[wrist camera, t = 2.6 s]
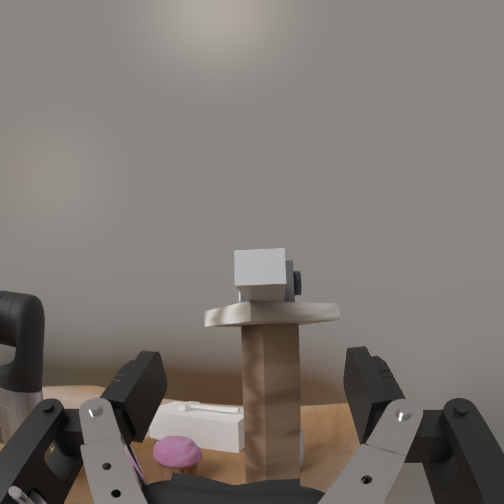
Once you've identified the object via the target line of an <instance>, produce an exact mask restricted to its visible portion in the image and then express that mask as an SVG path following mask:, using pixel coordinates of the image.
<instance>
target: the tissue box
mask: <svg viewBox="0 0 504 504" xmlns="http://www.w3.org/2000/svg"><path fill="white" fill-rule="evenodd" d="M199 403H200V402H192V401H189V402H187V403H184V402H177V401H174V402H171V403H168V404H165V405H162V406H159V408H158V410H157V412H156V414H155V416H154V418H153V421H152V423H151V425H150V427H149V429H150V437H151V438H155V439H159V440H160V439H163V438H164V437H166V436H184V437H188V438H190V439H192V440H193V441H194V443H195V444H196V445H197V446H198V447H199V448H205V449H211V450H218V451H226V452H235V453H239V452H240V451H241V450H242V449H243V448H244V447H245V442H244V411H243V408H239V407H222V406H211V405H201V404H199Z"/></svg>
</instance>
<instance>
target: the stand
mask: <svg viewBox="0 0 504 504" xmlns="http://www.w3.org/2000/svg"><path fill="white" fill-rule="evenodd" d="M339 319H340V318H339V304H338V303H303V302H302V303H301V302H274V301H252V300H250V301H246V302H242V303H238V304H234V305H229V306H225V307H221V308H217V309H213V310H208V311H205V326H209V327H241V330H242V371H243V372H242V373H243V411H244V442H245V470H246V484H247V483H253V482H259V481H264V480H281V479H300V357H299V329H298V325H303V324H312V323H320V322H328V321H335V320H339Z"/></svg>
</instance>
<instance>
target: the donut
mask: <svg viewBox="0 0 504 504" xmlns="http://www.w3.org/2000/svg"><path fill="white" fill-rule="evenodd" d="M303 462H304V437H303V432H302V430H301V428H300V468H301V467H302V465H303Z"/></svg>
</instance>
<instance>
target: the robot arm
mask: <svg viewBox="0 0 504 504" xmlns="http://www.w3.org/2000/svg"><path fill="white" fill-rule="evenodd" d="M44 326H45V317H44V310H43V305H42V303H41V301H40V299H38V297H36V296H34V295H30V294H23V293H15V292H9V291H0V344H4V345H8V346H12V347H16V353H15V358H14V360H13V361H12V362H11V363H9V364H6V365H1V366H0V424H1V430H2V435H3V440H4V445H5V446H4V448H3V449H2V450H1V452H0V504H63V503H64V501H65V499H66V497H67V495H68V493H69V491H70V489H71V487H72V485H73V483H74V481H75V479H76V477H77V475H78V473H79V471H80V469H81V467H82V465H83V463H84V467H85V471H86V475H87V479H88V483H89V487H90V490H91V494H92V497H93V501H94V504H382V502H383V501H384V499H385V497H386V495H387V494H388V492H389V490H390V488H391V486H392V484H393V482H394V481H395V479H396V477H397V475H398V473H399V471H400V469H401V467H402V465H403V463H423V467H424V470H425V473H426V476H427V479H428V482H429V485H430V488H431V492H432V495H433V498H434V502H435V504H504V454H503V452H502V450H501V448H500V446H499V444H498V443H497V441H496V439H495V437H494V436H493V434H492V433H491V431H490V429H489V428H488V426H487V424H486V422H485V421H484V419H483V417H482V416H481V414H480V413H479V411H478V410H477V408H476V406H475V405H474V404H473V403H472V402H471V401H469V400H467V399H462V398H456V399H452V400H450V401H448V402H447V403H446V404H445V406H444V409H443V410H423V409H422V407H421V406H420V405H419V404H418V403H417V402H415V401H413V400H409V399H406V398H405V397H404V395H403V393H402V391H401V389H400V387H399V386H398V384H397V382H396V380H395V378H393V374H392V373H391V371H390V369H389V368H388V366H387V364H386V362H385V361H383V360H382V359H381V358H379V357H378V356H374V357H371V356H370V354H369V352H368V350H367V348H366V347H365V346H362V347H352V348H348V349H347V354H346V363H345V370H344V390H345V393H346V397H347V400H348V403H349V407H350V410H351V414H352V417H353V421H354V424H355V428H356V431H357V435H358V438H359V442H360V445H361V446H360V447H359V448H358V450H357V451H356V453H355V454H354V456H353V457H352V459H351V460H350V462H349V463H348V465H347V466H346V467H345V469H344V470H343V471H342V473H341V474H340V476H339V477H338V478H337V480H336V481H335V482H334V484H333V485H332V486H331V487H330V489H329V490H328V491H327V492H326V493H324V492H321V491H319V490H316V489H312V488H308V487H301V486H300V479H281V480H264V481H259V482H253V483H247V484H241V485H229V484H226V483H222V482H219V481H215V480H212V479H209V478H205V477H202V476H193V475H186V474H179V473H173V474H172V477H171V480H166V481H159V482H155V483H151V484H148V482H147V480H146V478H145V476H144V474H143V472H142V469H141V467H140V465H139V463H138V460H137V458H136V456H135V453H134V451H133V449H132V447H131V445H130V444H131V442H132V441H134V442H139V443H142V442H143V440H144V438H145V435H146V433H147V431H148V429H149V427H150V425H151V423H152V421H153V418H154V416H155V414H156V412H157V410H158V408H159V406H160V404H161V402H162V399H163V397H164V395H165V393H166V390H167V378H166V375H165V371H164V367H163V364H162V359H161V356H160V353H159V352H153V351H141V352H140V353H139V355H138V356H137V358H136V359H135V360H134V361H133V360H131V361H130V362H128V363H127V364H125V365H124V366H123V367H122V368H121V369H120V371H119V372H118V375H116V376H115V378H114V380H112V381H111V383H110V384H109V386H108V387H107V388H106V390H105V391H104V392H103V394H102V395H101V396H100V398H93V399H90V400H87V401H86V402H84V403H83V404H82V405H81V407H80V409H64V407H63V405H62V403H61V402H60V401H59V400H57V399H52V398H51V399H45V400H43V393H42V375H43V345H44V328H45V327H44ZM51 443H53V444H54V446H55V448H54V450H53V452H52V453H51V450H50V444H51Z"/></svg>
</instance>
